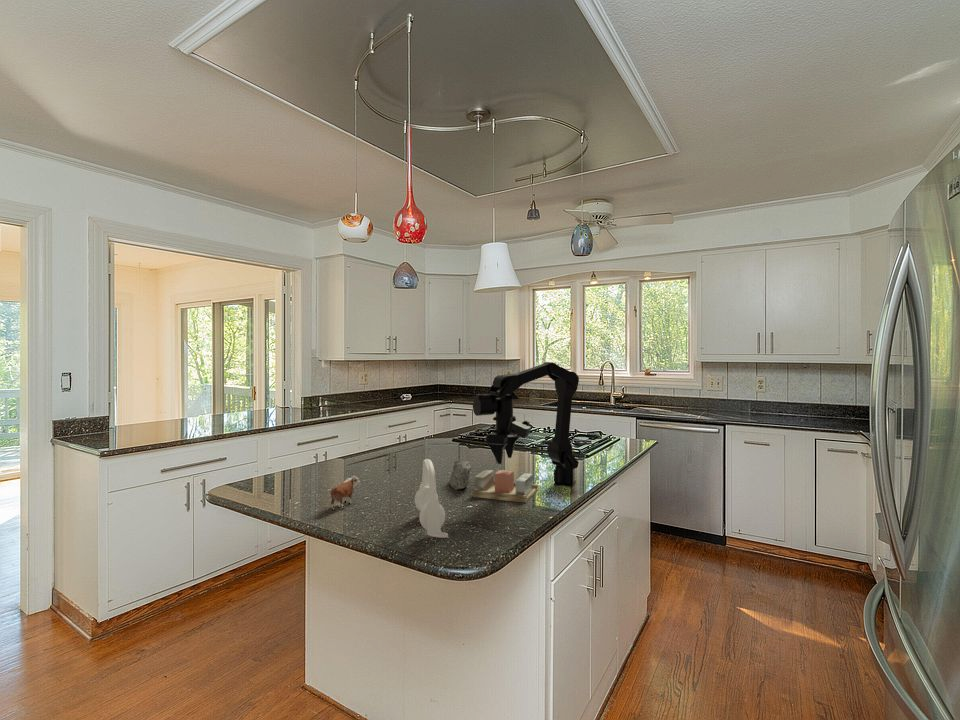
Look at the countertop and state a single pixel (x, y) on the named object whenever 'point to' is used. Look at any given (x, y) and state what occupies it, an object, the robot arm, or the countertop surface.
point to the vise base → (487, 489)
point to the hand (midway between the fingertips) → (504, 460)
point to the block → (504, 481)
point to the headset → (430, 502)
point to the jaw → (524, 484)
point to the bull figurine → (344, 490)
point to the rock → (460, 474)
